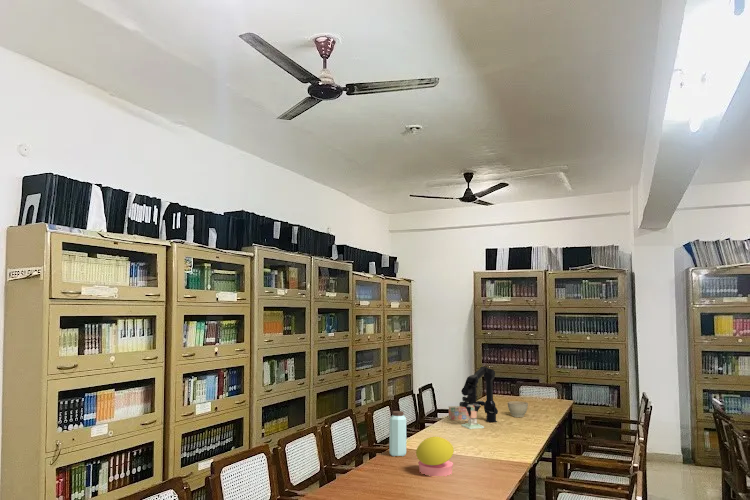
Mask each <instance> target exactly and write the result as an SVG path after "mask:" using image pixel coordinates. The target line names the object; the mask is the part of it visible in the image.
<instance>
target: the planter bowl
mask: <svg viewBox="0 0 750 500" xmlns="http://www.w3.org/2000/svg"><path fill="white" fill-rule="evenodd" d="M528 405H529V403H528V402H526V401H517V400H515V401H513V400H511V401H507V408H508V409H507V410H508V411H509V413H510V414H511V416H512V417H514V418H524V417H525V414H526V413H527V410H528V409H529V408H528V407H529V406H528Z"/></svg>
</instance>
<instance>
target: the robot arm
mask: <svg viewBox="0 0 750 500" xmlns="http://www.w3.org/2000/svg"><path fill="white" fill-rule="evenodd" d="M482 377H483V379H484V380H485V384H486V385H485V387H486V389H485V390H486V391H485V392H486V394H485V395H486V399H485V401H483V400H477V398H478V395H477V388H478V385H477V384H478V383H479V380H480V378H482ZM495 378H496V371H495V370H494V369H491V368H489V367H487V366H480V368H479V369H478V370H477V371H476V372H475V373H474V374H472V375H469V376H467V377H466V380H465V383H464V386H463V387H462V389H461V394H462V395H463V396H462V401H460V402H459V405H458V406H462V407H466V409H467V411H468V414H469V416H470V414H471V407H470V405H474V407H475V411H477V413H478V411H479V409H480V408H482V407H483V410H484V414H486V417H485V418H486V420H485V421H486V422H488V423H498V421H497V414H499V413H498V412H499V410H498V408H497V407H496V403H495V401H494V389H493V388H494V385H493V384H494V380H495ZM467 402H468V403H467Z"/></svg>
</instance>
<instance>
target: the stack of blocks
mask: <svg viewBox="0 0 750 500" xmlns="http://www.w3.org/2000/svg"><path fill="white" fill-rule="evenodd" d="M467 403H468V402H467ZM470 407H471V410H474V411H475V407H474V405H470ZM448 419H450V420H451V421H452V420H468V419H470V417H468V411H467V409H466V407H462V406H460V405H458V406H456V405H455V406H452V405H451V406H448ZM474 419H477V420H478V417H477V418H474Z"/></svg>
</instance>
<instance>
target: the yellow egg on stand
mask: <svg viewBox="0 0 750 500" xmlns="http://www.w3.org/2000/svg"><path fill="white" fill-rule="evenodd" d="M454 451H455V449H454V446H453V444H452V443H451V442H450V441H448V440H447V439H446V438H443V437H441V436H429V437H427V438H426V439H424V440H423V441H421V442H420V443H419V445H418V446H417V448H416V451H415V454H416V457H417V460H418V467H419V468H418V469H419V473H420V472H421V473H422V474H425V475H430V476H429V477H431V476H445V477H448V476H447V475H449V476H451V475H452V474H453V467H454V462H452V461H451V460H450V459H451V458H452V457H453V455H454ZM421 473H420V474H421ZM422 474H421V475H422ZM450 474H451V475H450ZM425 475H424V476H425Z"/></svg>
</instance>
